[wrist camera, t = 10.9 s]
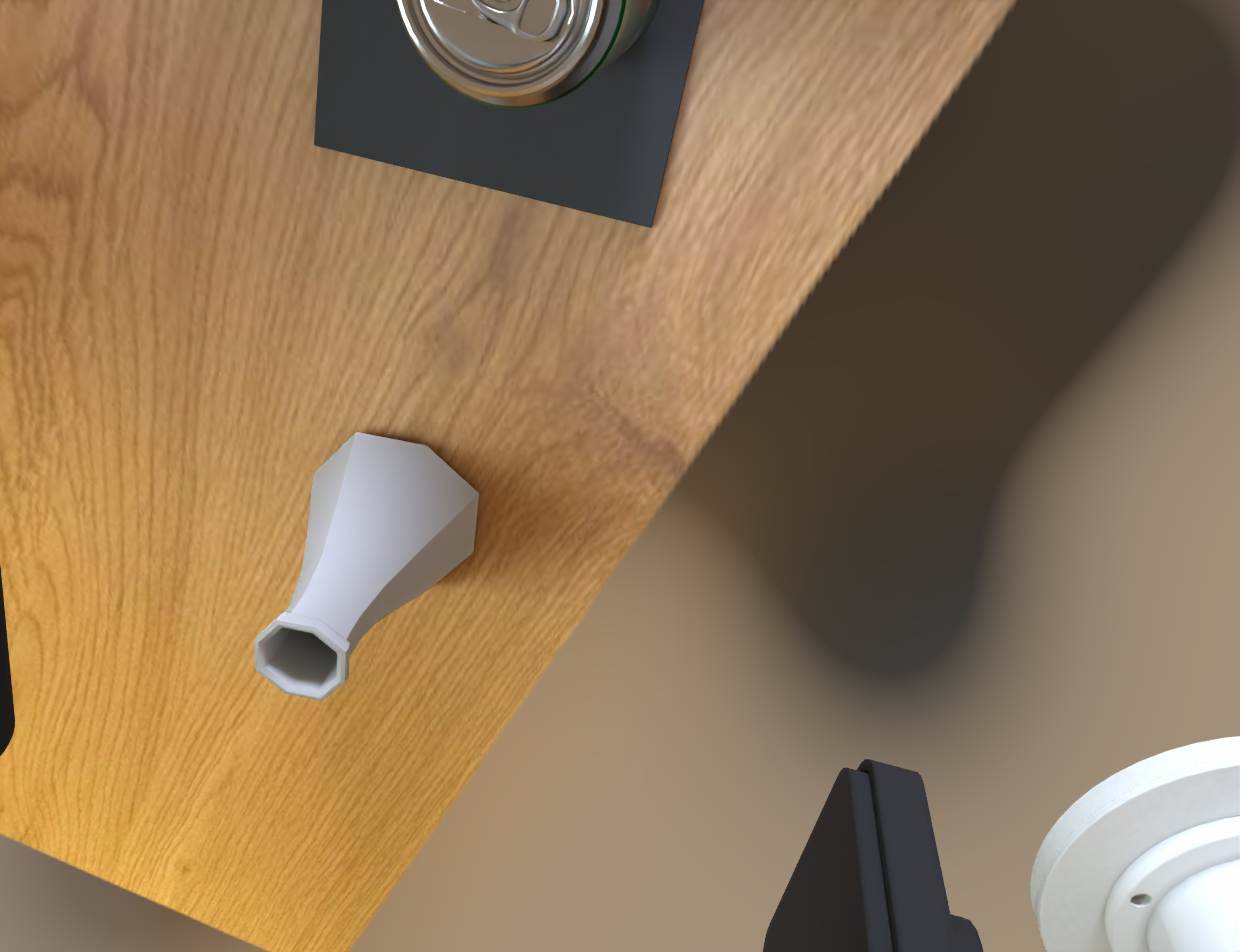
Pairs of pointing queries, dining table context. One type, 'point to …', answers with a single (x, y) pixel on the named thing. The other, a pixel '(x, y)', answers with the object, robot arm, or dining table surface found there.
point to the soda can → (523, 44)
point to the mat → (507, 114)
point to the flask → (365, 556)
